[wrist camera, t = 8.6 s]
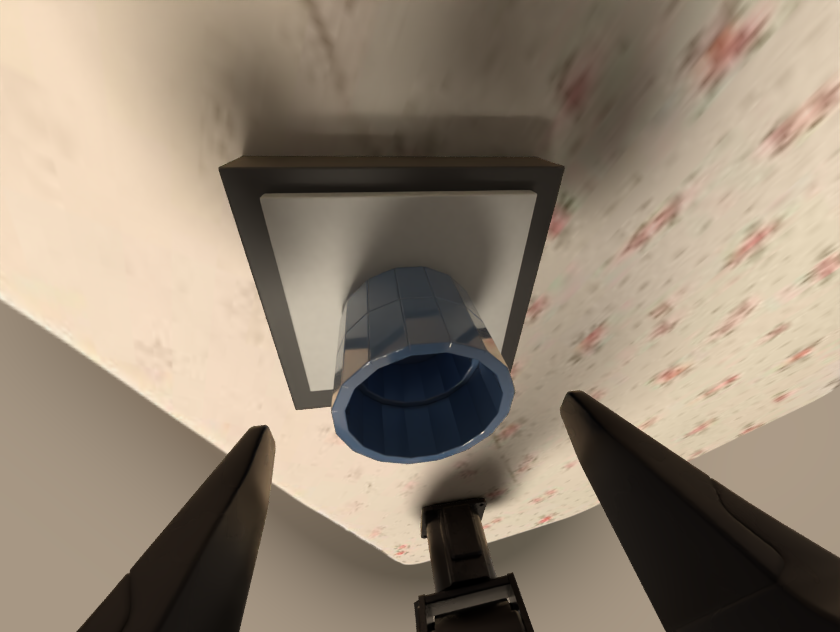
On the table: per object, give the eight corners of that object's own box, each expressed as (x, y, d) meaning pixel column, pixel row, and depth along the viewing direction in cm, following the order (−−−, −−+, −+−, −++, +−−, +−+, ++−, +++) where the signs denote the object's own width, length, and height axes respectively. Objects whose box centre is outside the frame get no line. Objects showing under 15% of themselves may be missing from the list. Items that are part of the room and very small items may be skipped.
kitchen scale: (493, 360, 20) (510, 396, 18) (302, 378, 19) (293, 420, 16) (536, 156, 13) (575, 169, 11) (240, 155, 12) (208, 170, 9)
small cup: (462, 360, 16) (498, 452, 12) (349, 371, 15) (344, 473, 11) (476, 257, 12) (532, 334, 8) (333, 263, 12) (317, 352, 8)
